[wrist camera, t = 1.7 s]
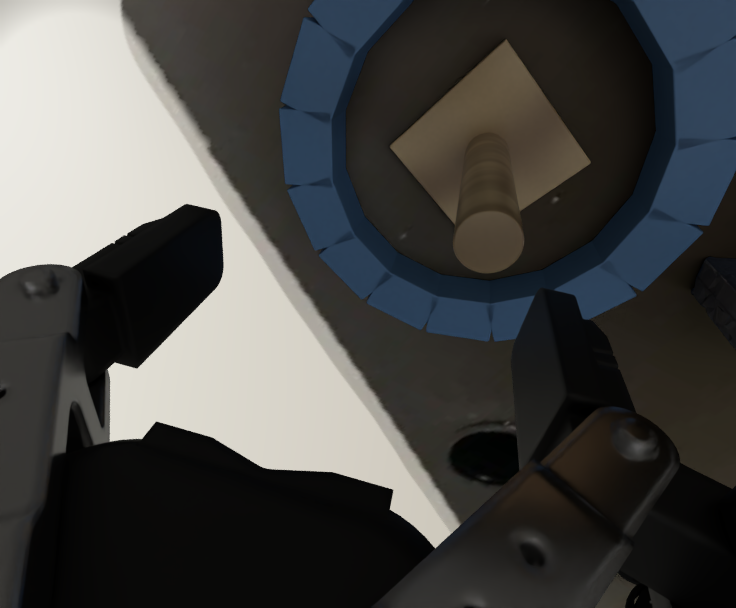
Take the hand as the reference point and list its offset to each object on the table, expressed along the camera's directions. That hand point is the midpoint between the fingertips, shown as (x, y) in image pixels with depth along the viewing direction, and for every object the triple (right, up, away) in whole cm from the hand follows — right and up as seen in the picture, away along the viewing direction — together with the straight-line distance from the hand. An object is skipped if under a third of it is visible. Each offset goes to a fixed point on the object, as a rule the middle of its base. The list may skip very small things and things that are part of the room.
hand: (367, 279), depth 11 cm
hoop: (+7, +8, +15) cm, 18 cm away
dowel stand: (+7, +8, +15) cm, 18 cm away
